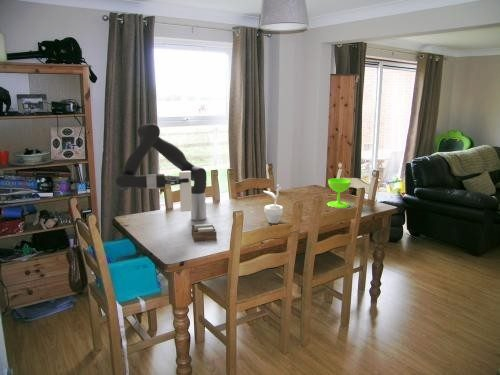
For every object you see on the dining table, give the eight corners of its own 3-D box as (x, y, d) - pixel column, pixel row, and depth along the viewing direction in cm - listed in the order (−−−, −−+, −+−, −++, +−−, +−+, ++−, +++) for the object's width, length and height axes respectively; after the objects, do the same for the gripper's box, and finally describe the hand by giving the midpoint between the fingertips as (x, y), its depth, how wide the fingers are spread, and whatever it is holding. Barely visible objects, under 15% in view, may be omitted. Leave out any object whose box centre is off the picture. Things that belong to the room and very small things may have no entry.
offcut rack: (191, 233, 220) (191, 225, 219) (212, 231, 223) (212, 223, 222) (194, 242, 207) (194, 233, 206) (216, 240, 210) (216, 231, 209)
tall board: (180, 210, 214) (179, 171, 209) (191, 209, 215) (190, 170, 210) (180, 211, 212) (179, 172, 207) (191, 211, 213) (190, 171, 208)
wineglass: (322, 203, 281) (323, 179, 277) (340, 201, 288) (341, 177, 284) (335, 209, 267) (337, 184, 263) (354, 206, 274) (356, 182, 270)
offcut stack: (194, 233, 214) (194, 224, 213) (212, 232, 217) (212, 223, 216) (195, 237, 208) (195, 228, 207) (214, 236, 211) (214, 227, 209)
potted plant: (285, 220, 243) (286, 181, 238) (279, 226, 233) (280, 185, 227) (266, 218, 248) (266, 180, 242) (259, 223, 238) (260, 183, 232)
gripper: (155, 176, 198) (189, 175, 202) (155, 171, 212) (187, 170, 216) (156, 191, 200) (189, 189, 204) (156, 185, 213) (187, 183, 217)
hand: (188, 179), depth 210 cm, fingers closed on tall board, 2 cm apart
